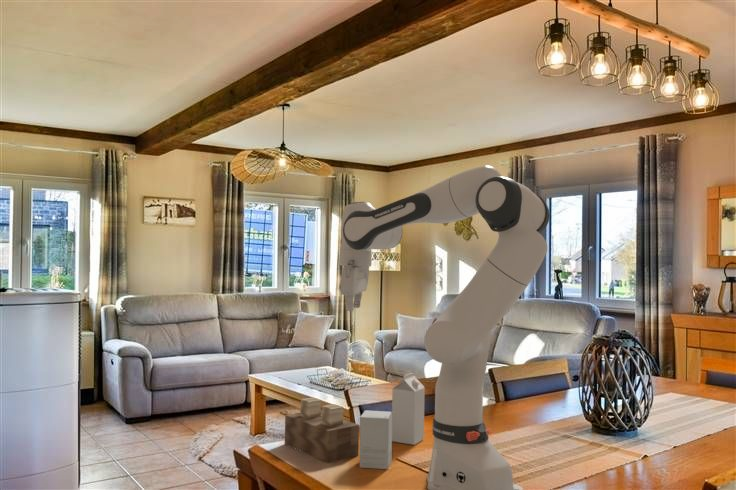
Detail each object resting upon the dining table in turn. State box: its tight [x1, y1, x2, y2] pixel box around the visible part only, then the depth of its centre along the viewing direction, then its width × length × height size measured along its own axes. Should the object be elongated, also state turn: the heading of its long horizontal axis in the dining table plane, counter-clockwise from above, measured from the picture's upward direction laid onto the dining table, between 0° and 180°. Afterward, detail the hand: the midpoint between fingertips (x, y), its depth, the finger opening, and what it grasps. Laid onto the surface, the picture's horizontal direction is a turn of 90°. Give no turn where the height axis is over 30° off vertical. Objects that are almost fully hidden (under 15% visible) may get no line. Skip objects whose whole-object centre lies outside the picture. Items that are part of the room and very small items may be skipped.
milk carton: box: [391, 372, 426, 446], centre depth 176 cm, size 7×7×19 cm
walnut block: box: [284, 411, 360, 464], centre depth 165 cm, size 20×10×8 cm, turn 40°
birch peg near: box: [321, 403, 344, 427], centre depth 162 cm, size 4×4×7 cm
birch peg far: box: [299, 397, 322, 419], centre depth 169 cm, size 4×4×7 cm
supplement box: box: [359, 409, 393, 470], centre depth 154 cm, size 7×7×13 cm
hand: (353, 309), depth 172 cm, fingers open, 8 cm apart
